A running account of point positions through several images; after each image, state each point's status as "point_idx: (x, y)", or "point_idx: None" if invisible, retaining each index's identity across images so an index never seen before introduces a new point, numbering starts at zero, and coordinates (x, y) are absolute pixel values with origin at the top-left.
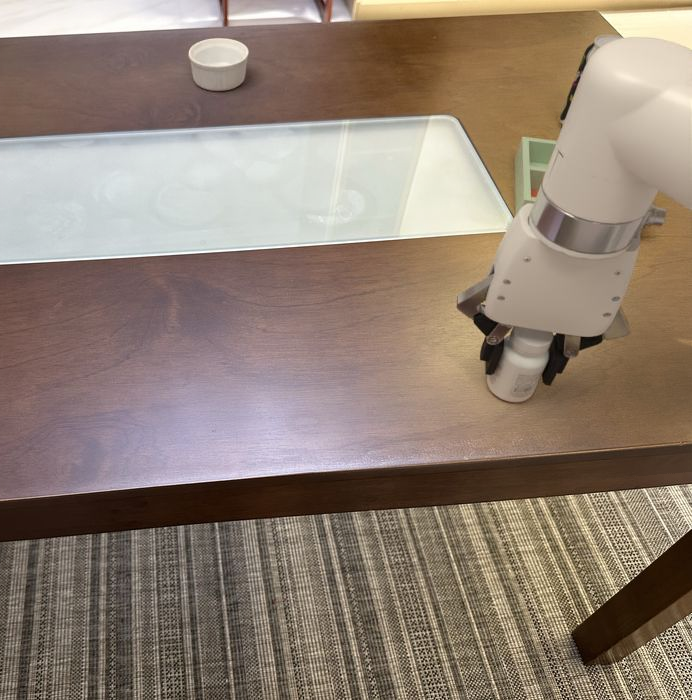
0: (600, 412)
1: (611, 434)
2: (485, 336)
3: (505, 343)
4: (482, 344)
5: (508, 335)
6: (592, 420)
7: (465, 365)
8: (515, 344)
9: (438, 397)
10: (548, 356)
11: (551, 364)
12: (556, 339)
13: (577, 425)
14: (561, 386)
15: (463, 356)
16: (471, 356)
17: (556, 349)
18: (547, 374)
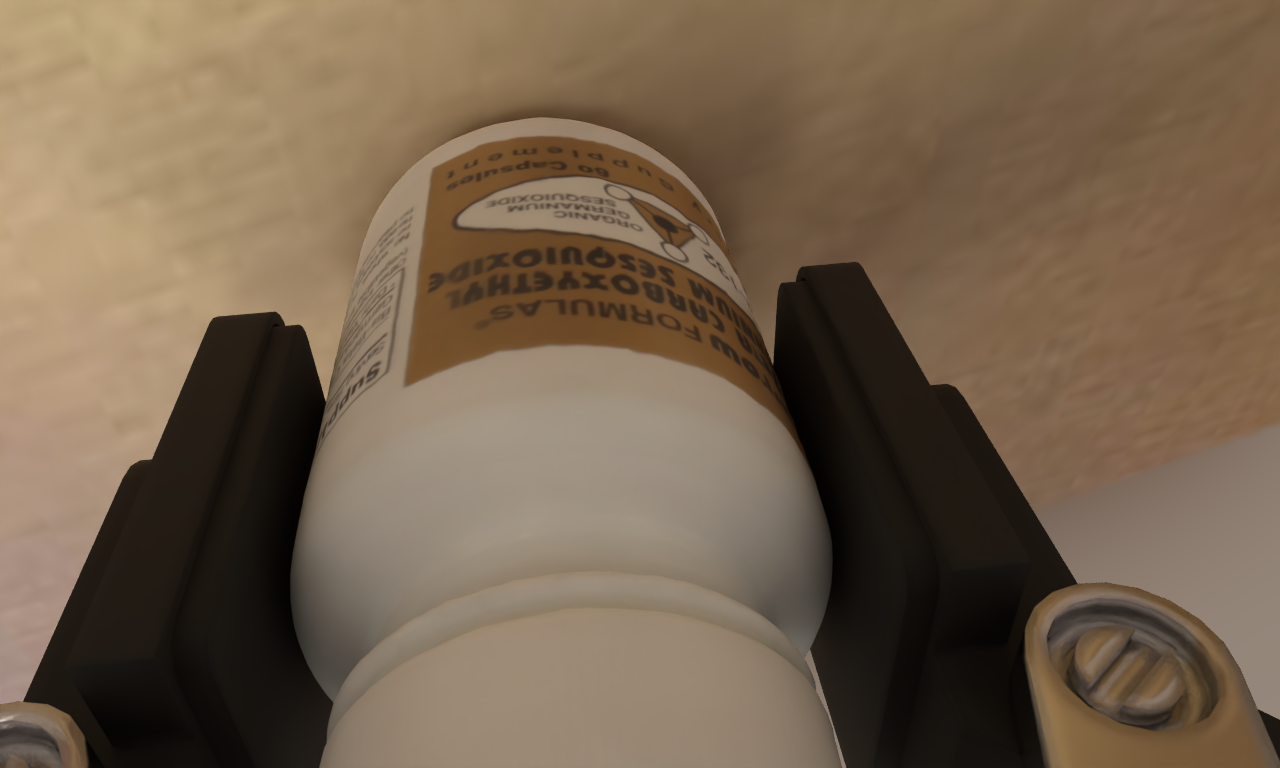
0: (1163, 282)
1: (1165, 412)
2: (64, 627)
3: (330, 668)
4: (113, 508)
5: (337, 542)
6: (1086, 356)
7: (148, 164)
8: None
9: (83, 500)
10: (812, 642)
11: (829, 701)
12: (928, 632)
13: (981, 417)
14: (950, 138)
15: (86, 60)
16: (159, 35)
17: (896, 742)
18: None
